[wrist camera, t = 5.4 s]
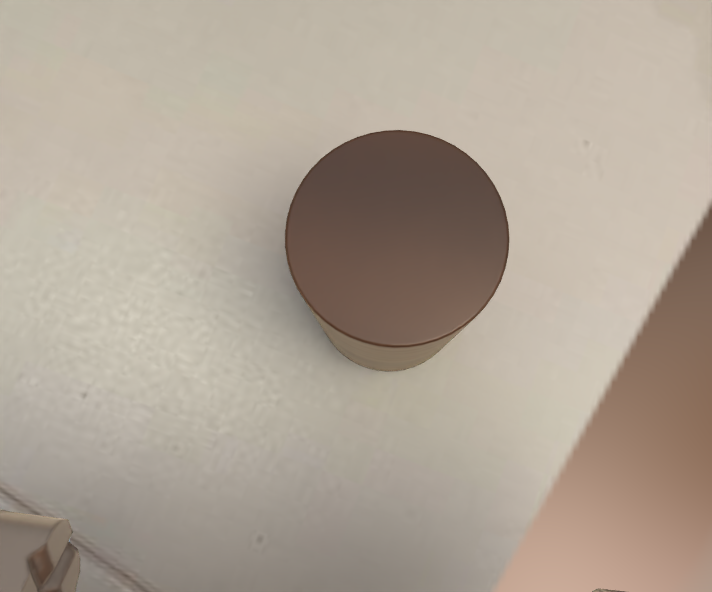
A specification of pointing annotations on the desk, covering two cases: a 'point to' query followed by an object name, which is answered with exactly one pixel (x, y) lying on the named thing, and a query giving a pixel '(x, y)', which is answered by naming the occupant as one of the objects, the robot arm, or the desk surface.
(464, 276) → the brown cylinder
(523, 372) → the desk surface
